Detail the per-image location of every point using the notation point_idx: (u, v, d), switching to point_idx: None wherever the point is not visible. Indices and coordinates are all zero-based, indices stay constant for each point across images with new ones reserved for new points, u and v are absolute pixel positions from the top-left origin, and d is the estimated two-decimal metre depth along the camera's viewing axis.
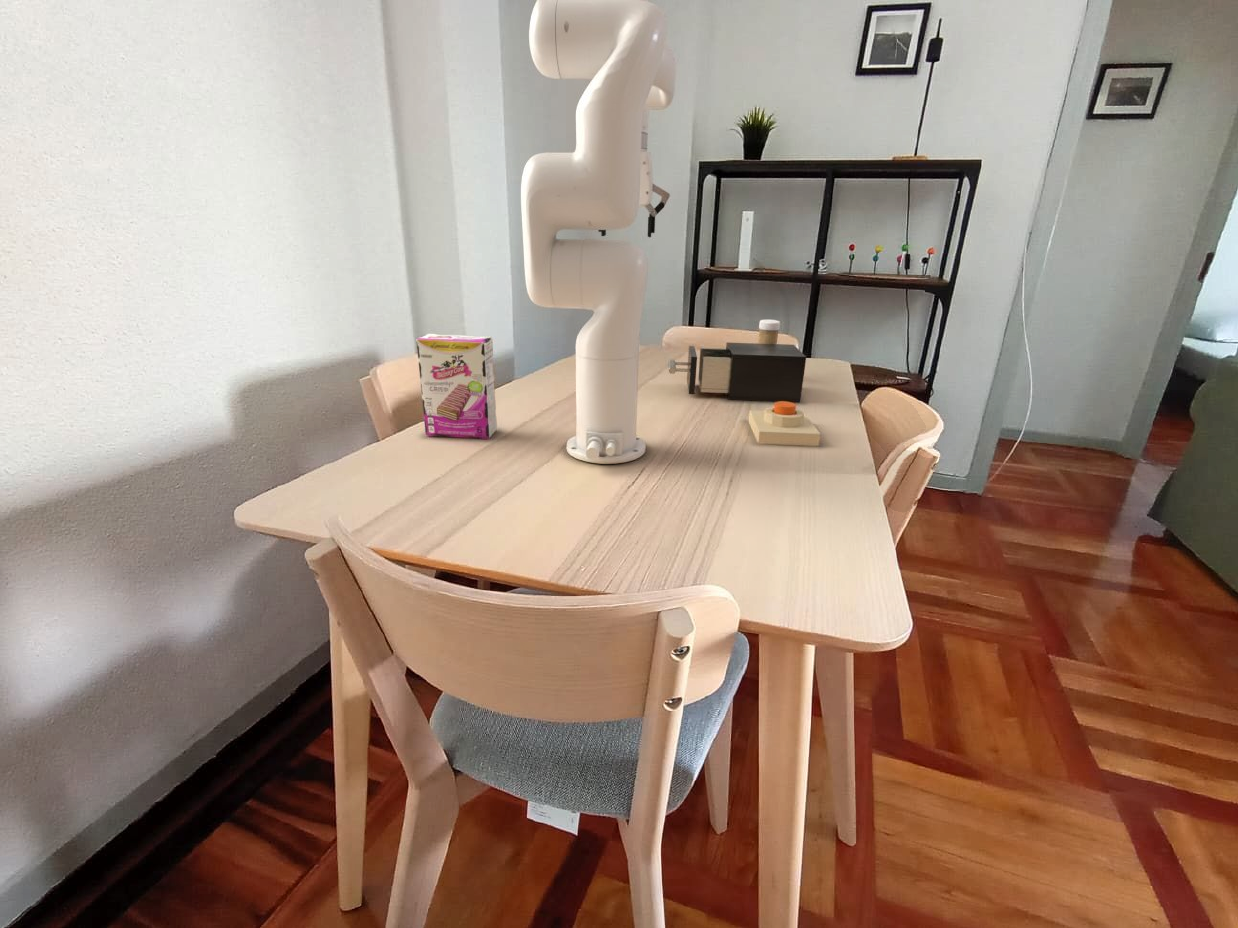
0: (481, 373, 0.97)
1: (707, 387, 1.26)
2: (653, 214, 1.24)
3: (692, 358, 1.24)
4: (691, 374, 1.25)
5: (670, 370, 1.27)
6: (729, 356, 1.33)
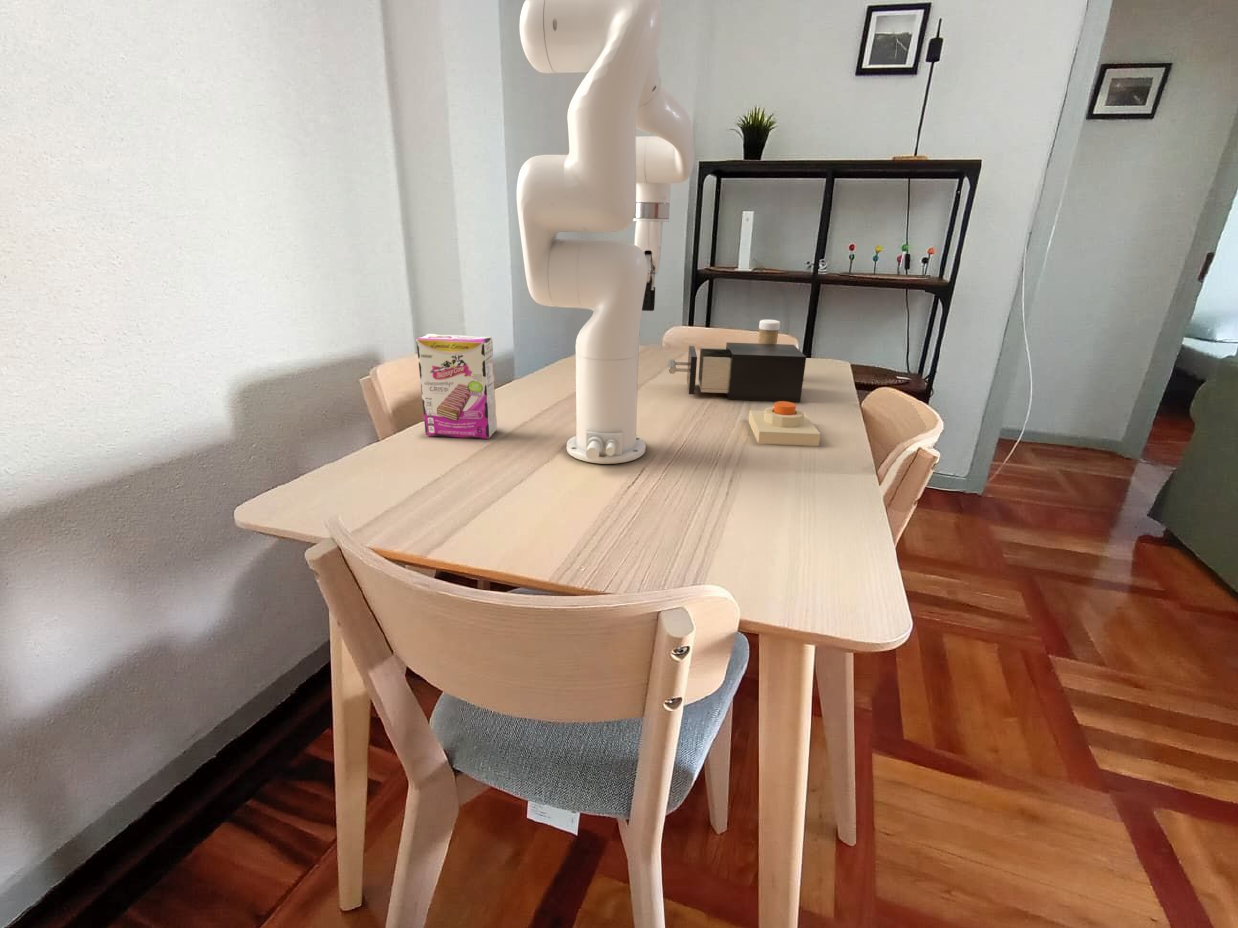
0: (481, 373, 0.97)
1: (707, 387, 1.26)
2: None
3: (692, 358, 1.24)
4: (691, 374, 1.25)
5: (670, 370, 1.27)
6: (729, 356, 1.33)
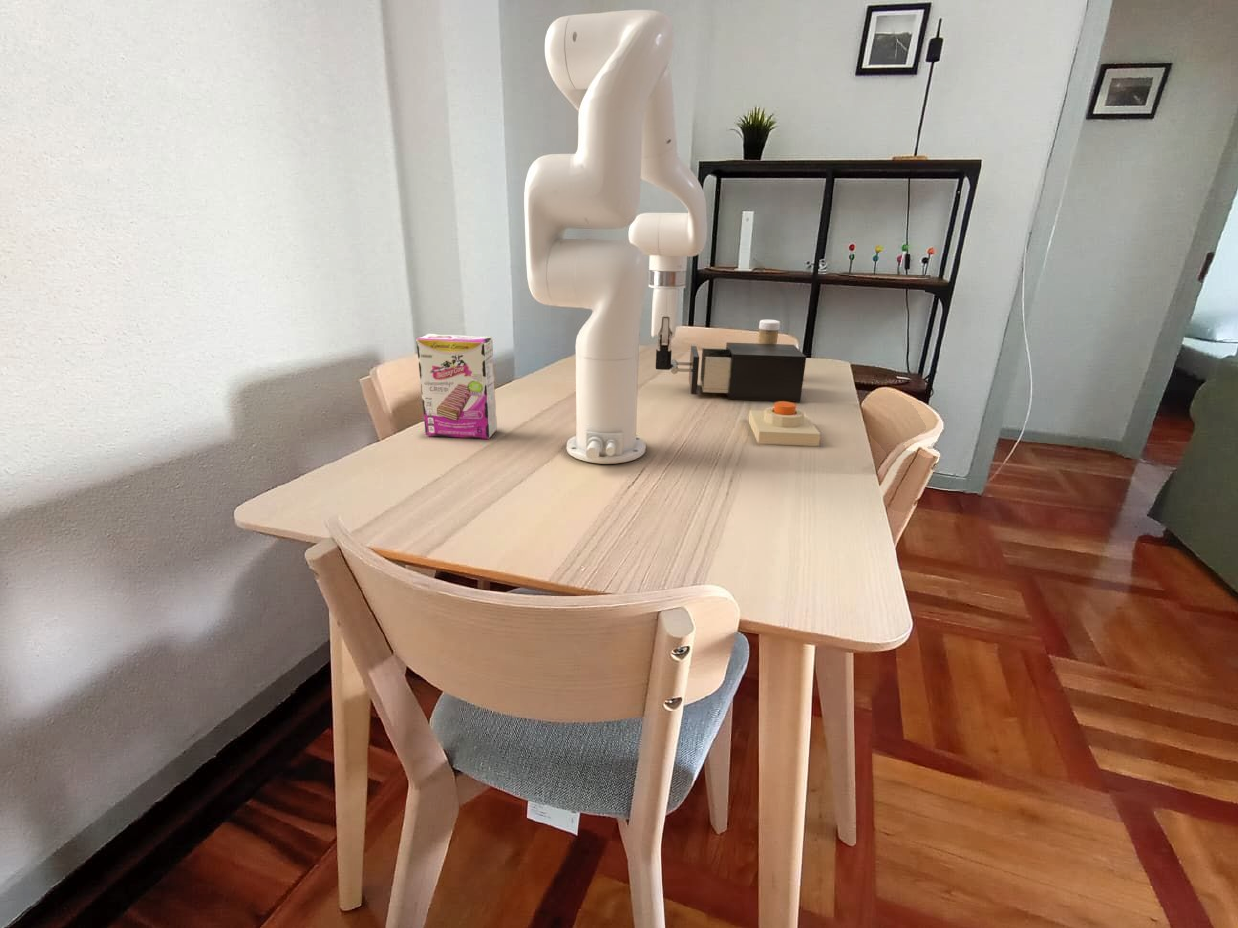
0: (481, 373, 0.97)
1: (709, 387, 1.26)
2: (658, 349, 1.28)
3: (694, 358, 1.23)
4: (693, 374, 1.25)
5: (672, 370, 1.27)
6: (731, 356, 1.33)
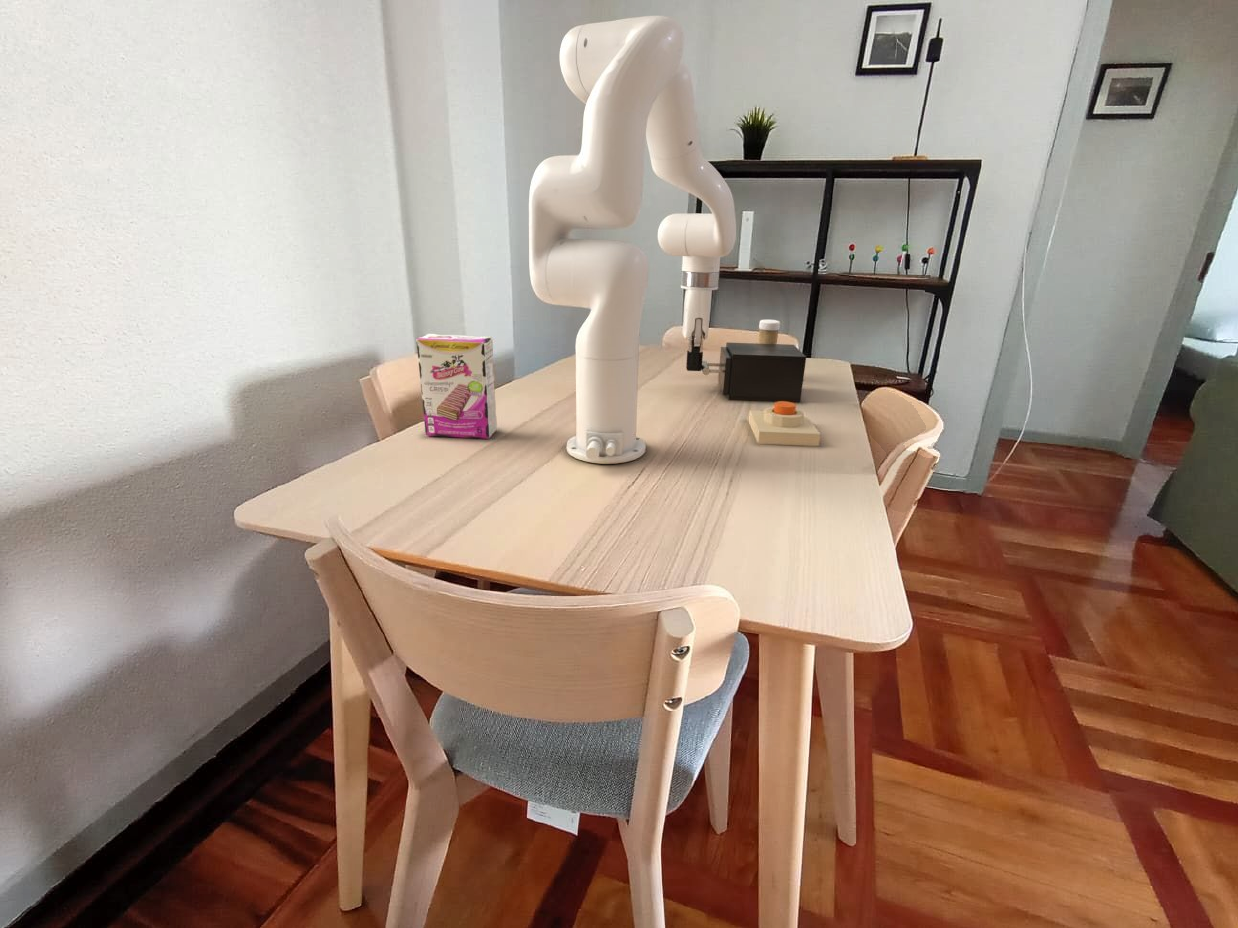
0: (481, 373, 0.97)
1: None
2: None
3: (727, 359, 1.23)
4: (725, 375, 1.24)
5: (704, 371, 1.27)
6: None
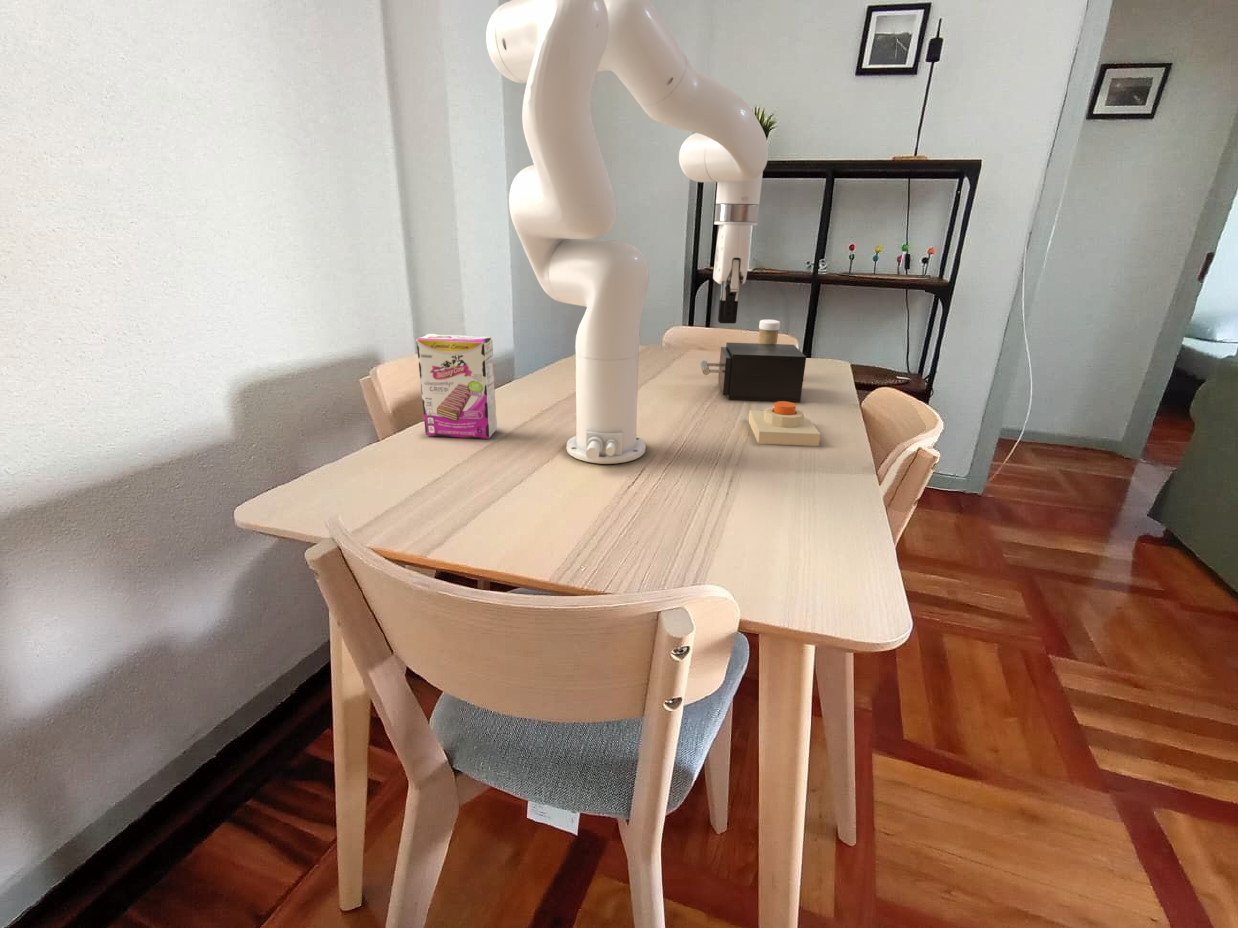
0: (481, 373, 0.97)
1: None
2: (723, 299, 1.11)
3: (727, 359, 1.23)
4: (725, 375, 1.24)
5: (704, 371, 1.27)
6: None
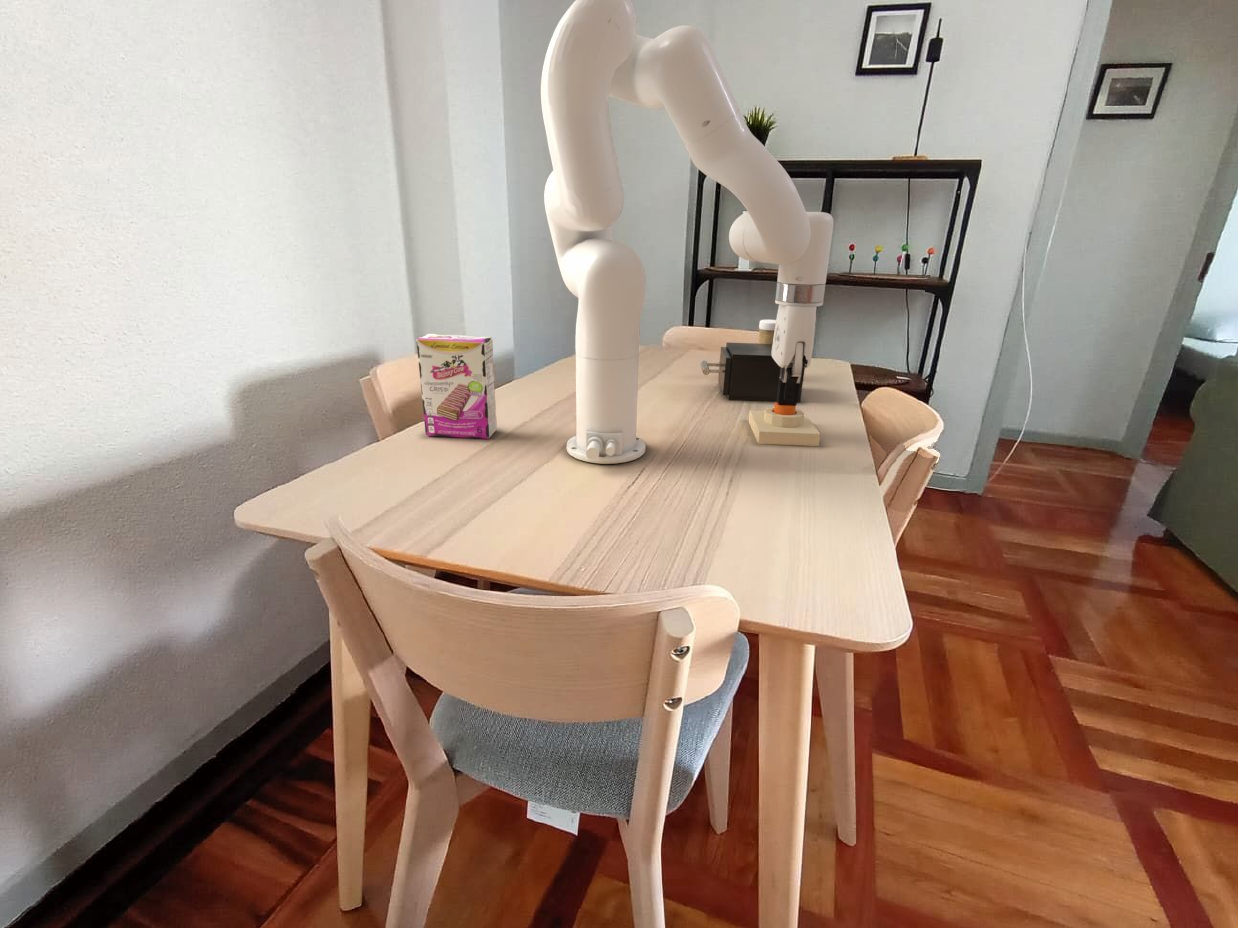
0: (481, 373, 0.97)
1: None
2: None
3: (727, 359, 1.23)
4: (725, 375, 1.24)
5: (704, 371, 1.27)
6: None
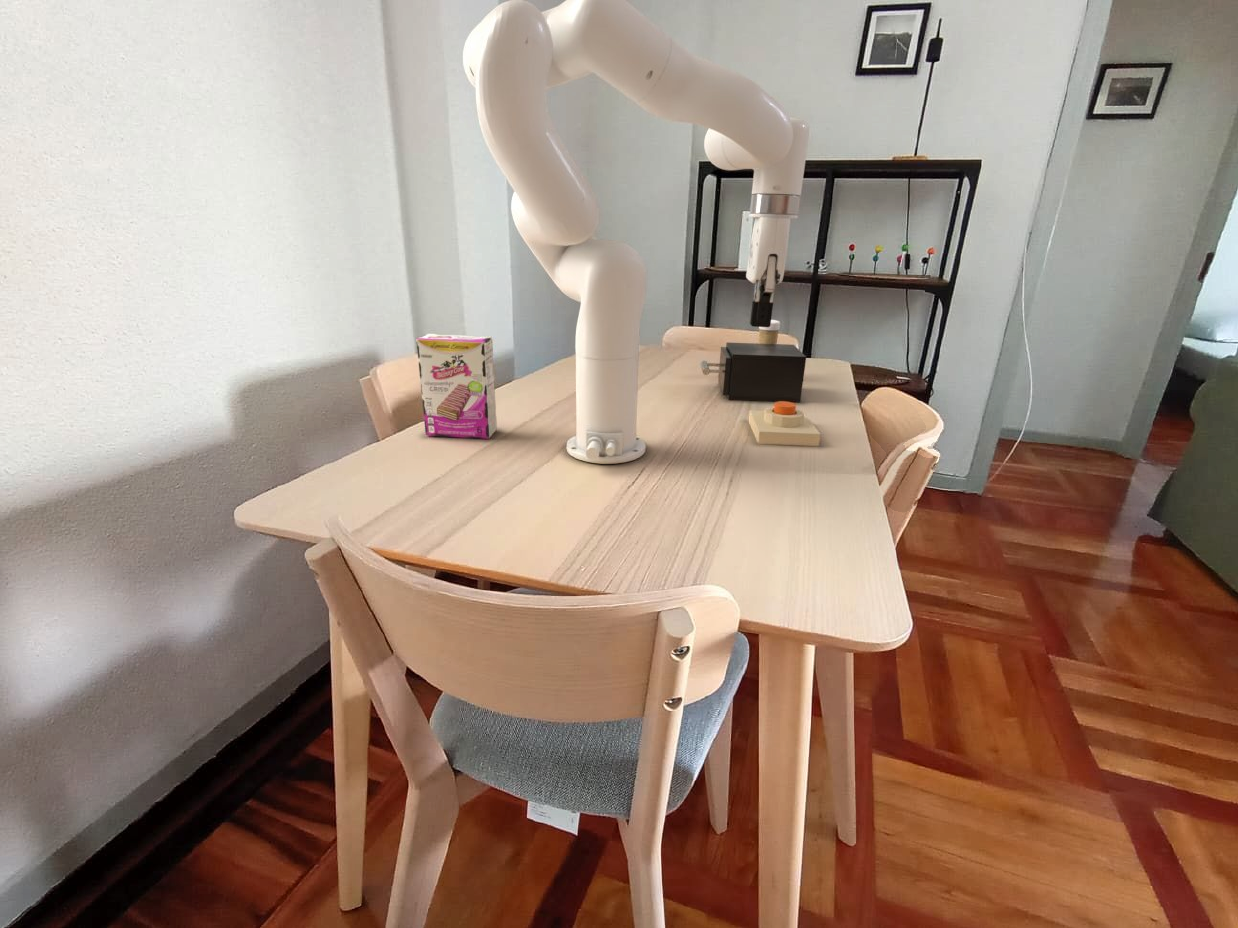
0: (481, 373, 0.97)
1: None
2: None
3: (727, 359, 1.23)
4: (725, 375, 1.24)
5: (704, 371, 1.27)
6: None
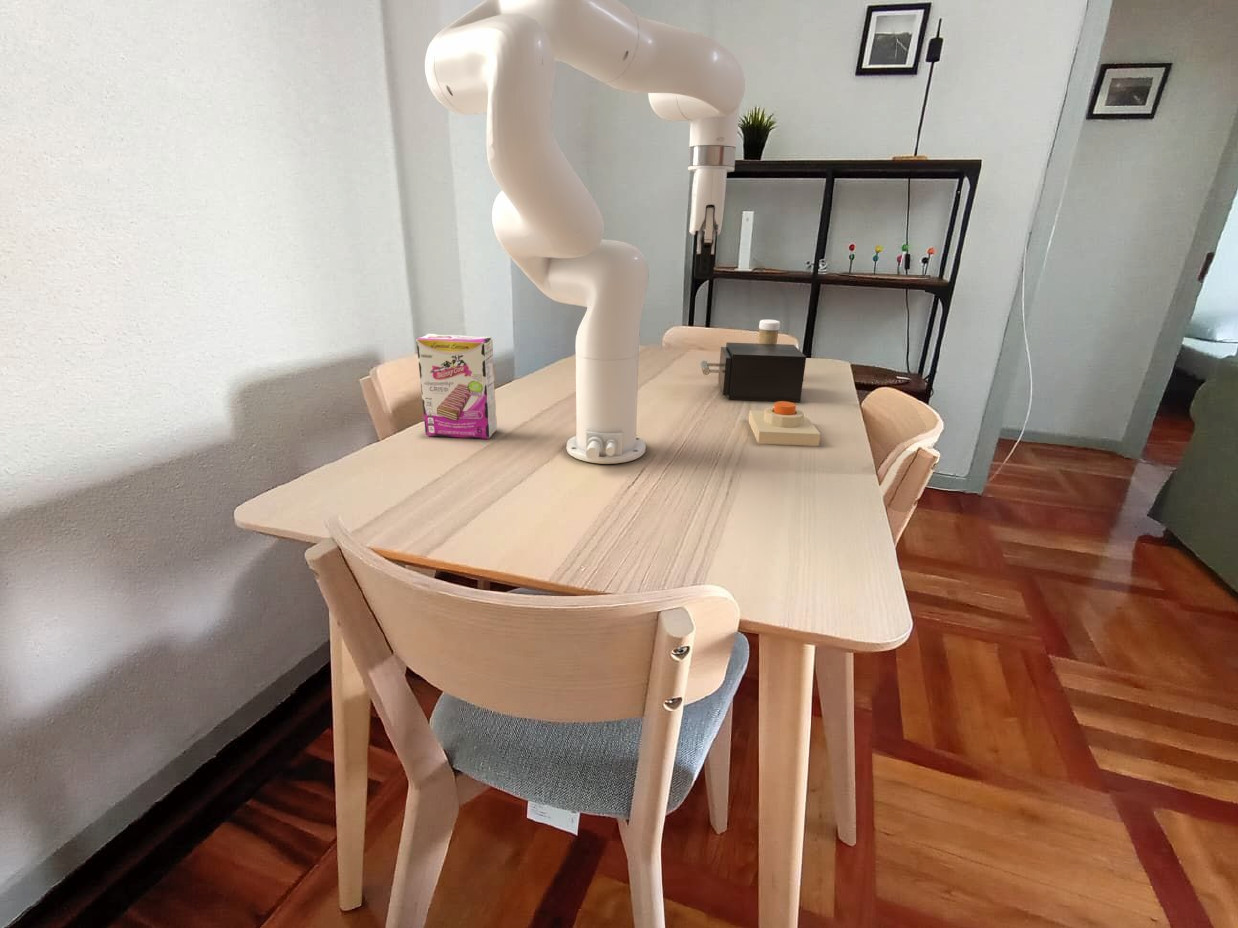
0: (481, 373, 0.97)
1: None
2: (698, 252, 1.03)
3: (727, 359, 1.23)
4: (725, 375, 1.24)
5: (704, 371, 1.27)
6: None
